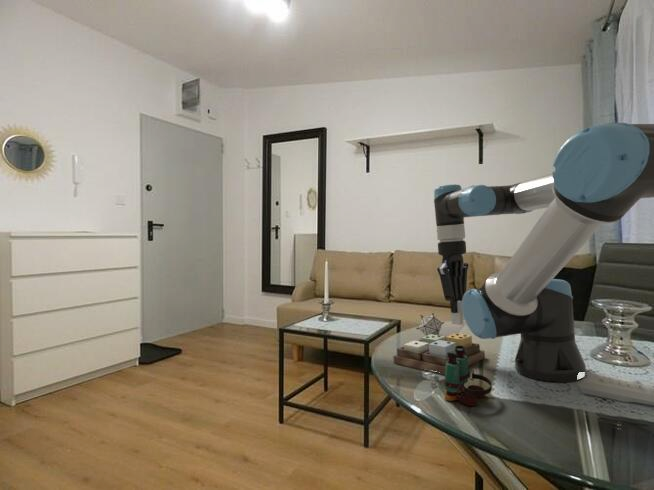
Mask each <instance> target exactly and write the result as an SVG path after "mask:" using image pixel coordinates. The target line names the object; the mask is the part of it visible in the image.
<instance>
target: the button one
mask: <svg viewBox="0 0 654 490" xmlns="http://www.w3.org/2000/svg"><path fill="white" fill-rule="evenodd" d="M403 346H404V350H409V351H414V352H422V351H424V350H426V349H429V343H426V342H420V341H419V340H413V341H412V340H411V341H409V342H407V343H404V344H403Z"/></svg>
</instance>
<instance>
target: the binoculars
mask: <svg viewBox="0 0 654 490" xmlns="http://www.w3.org/2000/svg"><path fill="white" fill-rule="evenodd" d="M455 351H456V354H454V353H449V352H447V357H448V361H447V362H446V366H445V370H446V372H445V375H444V376H445V377H444V380H443V382H444V383H443V384H444V390H445V392H444V400H445V401H449V402H450V401H451V402H452V401H457V400H459V401H460V402H461V403H462V404H464V405H467V406H471V407H477V406H478V404H479V400H482V399H484V398H485V396H486V395H488V394H490V393H491V391H492V387H493V386H492V384H493V383H492V381H491V380H490V379H489V378H488V377H487V376H484V375H481V374H479V373H477V374H476V373H474V371H473V370H471V371H469V367H468V357H467V356H465V355H464V352H465V347H464V346H461V345H458V346H456V347H455ZM470 377H471V378H470ZM474 379H475V380H481V381H483V382H485V383H487V384H488V385H489V387H488V388H486V389H485V388H483V387H482V386H480V385H475V384H472V385H468V386H465V384H466V383H468V382H469V380H471V381H474ZM459 394H460V395H459Z"/></svg>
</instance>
